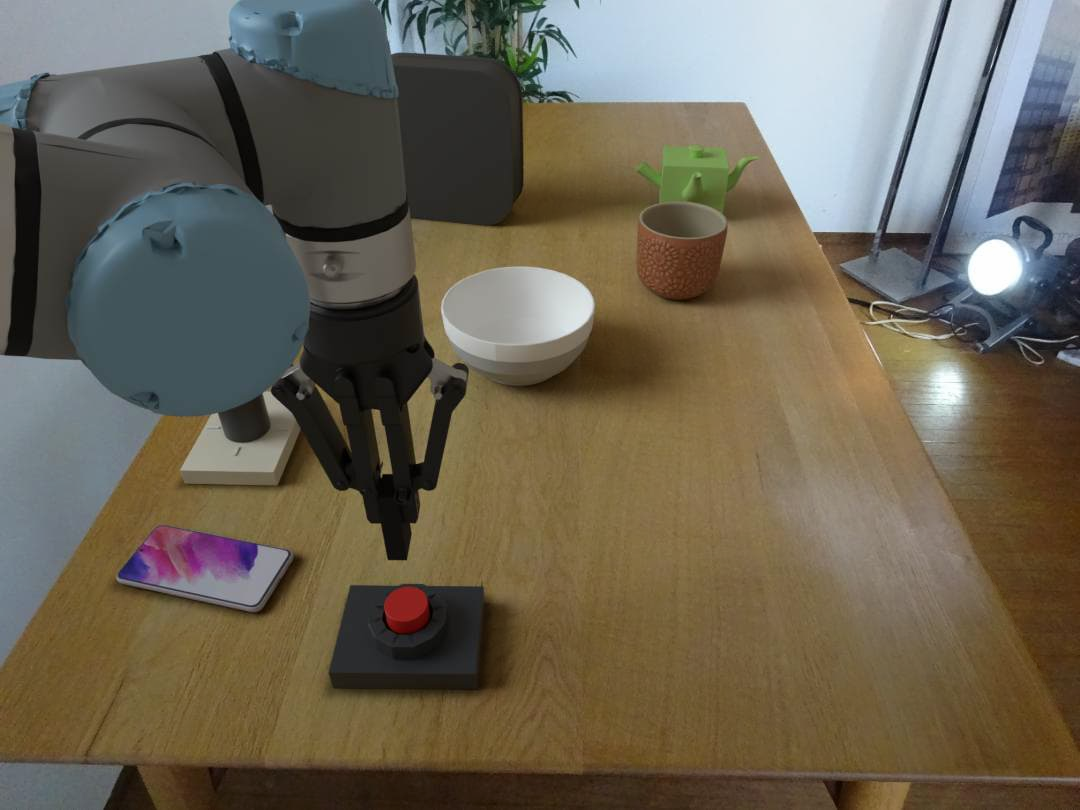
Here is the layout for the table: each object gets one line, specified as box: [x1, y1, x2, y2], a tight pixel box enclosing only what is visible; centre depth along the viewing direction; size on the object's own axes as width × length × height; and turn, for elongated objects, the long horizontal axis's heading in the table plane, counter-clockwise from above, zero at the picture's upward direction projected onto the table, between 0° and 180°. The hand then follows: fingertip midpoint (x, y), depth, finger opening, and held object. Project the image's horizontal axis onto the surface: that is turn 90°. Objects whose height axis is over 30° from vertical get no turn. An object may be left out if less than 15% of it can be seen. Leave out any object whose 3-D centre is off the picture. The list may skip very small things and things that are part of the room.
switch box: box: [328, 583, 486, 690], centre depth 69 cm, size 12×9×4 cm
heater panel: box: [179, 391, 302, 487], centre depth 91 cm, size 14×10×2 cm
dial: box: [218, 393, 271, 443], centre depth 88 cm, size 5×5×8 cm
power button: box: [384, 587, 430, 634], centre depth 67 cm, size 4×4×2 cm
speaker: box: [391, 52, 525, 226], centre depth 133 cm, size 25×9×25 cm, turn 77°
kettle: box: [635, 144, 760, 215], centre depth 137 cm, size 15×14×11 cm
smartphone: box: [115, 524, 294, 613], centre depth 76 cm, size 7×1×15 cm
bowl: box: [440, 266, 596, 387], centre depth 101 cm, size 19×19×9 cm
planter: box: [635, 201, 729, 301], centre depth 116 cm, size 12×12×11 cm
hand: (399, 546), depth 63 cm, fingers closed
